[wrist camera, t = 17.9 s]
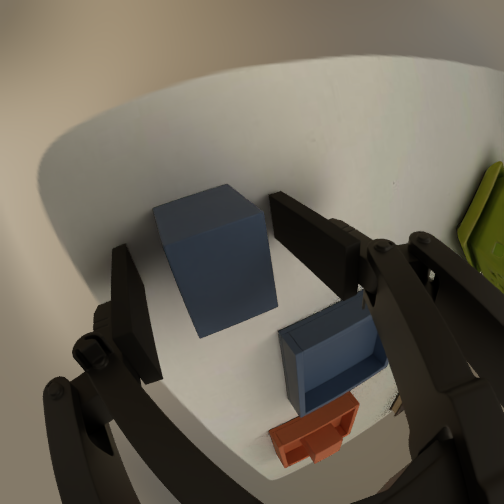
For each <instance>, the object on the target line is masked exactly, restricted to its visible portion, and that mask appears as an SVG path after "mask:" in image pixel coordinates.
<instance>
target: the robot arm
mask: <svg viewBox="0 0 504 504" xmlns="http://www.w3.org/2000/svg"><path fill="white" fill-rule="evenodd" d="M269 201H270V208H271V215H272V222H273V229H274V236H275V238H276V239H277V240H278V241H279V242H280V243H281V244H282V245H283V246H285V247H286V248H287V249H288V250H289V251H290V252H291V253H292V254H293V255H294V256H295V257H297V258H298V259H299V260H300V261H301V262H302V263H303V264H304V265H305V266H306V267H307V268H308V269H310V270H311V271H312V272H313V273H314V274H315V275H316V276H317V277H318V278H319V279H320V280H321V281H322V282H324V283H325V284H326V285H327V286H328V287H329V288H330V289H331V290H332V291H333V292H334V293H335V294H336V295H337V296H338V297H340V298H341V299H342V300H343V301H345V300H347V299H349V298H351V297H353V296H355V295H357V290H358V284H359V285H361V286H362V287H363V288H364V291H363V300H362V310H363V309H365V304H367V306H368V309H369V311H370V314H371V316H372V319H373V321H374V324H375V326H376V329H377V332H378V334H379V337H380V340H381V342H382V345H383V348H384V350H385V353H386V356H387V359H388V362H389V365H390V367H391V370H392V373H393V376H394V379H395V382H396V385H397V388H398V391H399V394H400V398H401V401H402V404H403V407H404V411H405V414H406V417H407V421H408V424H409V429H410V434H409V450H410V455H411V459H412V461H411V462H410V463H409V464H408V465H407V466H405V467H404V468H403V469H402V470H401V471H399V472H398V473H397V474H396V475H394V476H393V477H392V478H390V479H389V481H388V482H387V483H386V484H385V485H384V486H383V487H382V488H381V489H380V490H379V491H378V493H377V494H375V495H373V496H370V497H368V498H365V499H362V500H360V501H357V502H354V503H351V504H504V412H503V410H502V407H501V405H502V406H503V407H504V294H503V293H502V292H501V291H500V290H499V289H498V288H497V287H495V286H494V285H493V284H492V283H491V282H490V281H489V280H488V279H486V278H485V277H484V276H483V275H482V274H481V273H479V272H478V271H477V270H476V269H475V268H474V267H472V266H471V265H470V264H469V263H467V262H466V261H465V260H464V259H463V258H461V257H460V256H459V255H458V254H456V253H455V252H454V251H452V250H451V249H450V248H449V247H447V246H446V245H445V244H443V243H442V242H441V241H439V240H438V239H437V238H435V237H434V236H433V235H431V234H429V233H426V232H423V231H422V232H421V231H418V232H413V233H412V234H410V236H409V242H408V243H407V244H402V245H396V244H395V243H394V242H392V241H390V240H387V239H375V240H372V239H371V238H369V237H367V236H366V235H364V234H363V233H361V232H359V231H358V230H355V228H353V227H351V226H349V225H348V224H347V223H345V222H343V221H341V220H337V219H334V218H332V219H329V220H328V219H326V218H324V217H323V216H321V215H320V214H318V213H316V212H315V211H313V210H312V209H310V208H308V207H307V206H305V205H303V204H302V203H300V202H298V201H297V200H295V199H293V198H292V197H290V196H288V195H287V194H285V193H283V192H282V191H279V192H276V193H273V194H269ZM431 270H432V271H433V272H434V273H435V277H434V280H432V279H431V278H430V277H429V276H430V271H431ZM93 323H94V324H93V330H94V331H93V332H90V333H87V334H85V335H83V336H82V337H81V338H80V339H79V340H77V342H76V343H75V345H74V347H73V350H72V354H73V358H74V359H75V360H76V361H77V362H78V363H79V365H80V366H81V367H82V368H83V369H84V371H85V372H84V373H82V374H81V375H80V376H78V377H77V378H75V379H74V380H72V381H69V380H67V379H66V378H65V377H60V376H59V377H56V378H54V379H52V380H51V381H50V382H49V383H48V384H47V385H46V387H45V389H44V391H43V405H44V415H45V423H46V430H47V437H48V444H49V450H50V455H51V460H52V465H53V470H54V474H55V478H56V482H57V486H58V490H59V493H60V497H61V501H62V504H140V502H139V499H138V497H137V495H136V493H135V491H134V489H133V487H132V484H131V482H130V480H129V477H128V475H127V472H126V470H125V467H124V465H123V462H122V460H121V457H120V454H119V452H118V449H117V446H116V443H115V441H114V438H113V435H112V432H111V429H110V426H109V422H110V421H112V420H113V419H114V420H115V422H116V423H117V425H118V426H119V428H120V429H121V430H122V432H123V433H124V435H125V436H126V438H127V439H128V440H129V442H130V443H131V445H132V446H133V447H134V449H135V450H136V451H137V453H138V454H139V455H140V457H141V458H142V459H143V460H144V462H145V463H146V464H147V465H148V467H149V468H150V469H151V470H152V471H153V473H154V474H155V475H156V476H157V477H158V479H159V480H160V481H161V482H162V483H163V484H164V486H165V487H166V488H167V489H168V490H169V491H170V492H171V493H172V494H173V495H174V496H175V498H176V499H177V500H178V501H179V502H180V503H181V504H264V503H262V502H261V501H260V500H258V499H257V498H256V497H254V496H253V495H251V494H250V493H249V492H248V491H246V490H245V489H244V488H243V487H241V486H240V485H239V484H237V483H236V482H235V481H234V480H233V479H232V478H230V477H229V476H228V475H227V474H226V473H225V472H223V471H222V470H221V469H220V468H219V467H218V466H216V465H215V464H214V463H213V462H212V461H211V460H210V459H209V458H208V457H207V456H206V455H205V454H204V453H202V452H201V451H200V450H199V449H198V448H197V447H196V446H195V445H194V444H193V443H192V442H191V441H190V440H189V439H188V438H187V437H186V436H185V435H184V434H183V433H182V432H181V431H180V430H179V429H178V428H177V427H176V426H175V424H174V423H173V422H172V421H171V420H170V419H169V418H168V417H167V416H166V415H165V414H164V412H163V411H162V410H161V409H160V408H159V407H158V406H157V405H156V403H155V402H154V401H153V400H152V399H151V398H150V396H149V395H148V394H147V393H146V392H145V390H144V389H143V388H142V387H141V381H140V378H141V380H142V381H143V382H144V383H145V384H149V383H152V382H155V381H158V380H161V379H163V376H162V372H161V368H160V364H159V360H158V355H157V351H156V346H155V342H154V337H153V332H152V327H151V322H150V317H149V311H148V306H147V300H146V294H145V288H144V284H143V282H142V280H141V278H140V276H139V273H138V271H137V269H136V266H135V264H134V262H133V260H132V257H131V255H130V253H129V250H128V248H127V245H126V244H123V245H121V246H118V247H116V248H113V249H112V270H111V301H109V302H106V303H103V304H101V305H98V307H97V309H96V311H95V313H94V322H93ZM466 360H467V361H466ZM467 362H468V363H469V364H470V365H471V367H472V368H473V369H474V370H475V372H476V373H477V374H478V376H479V377H480V378H476V377H475V376H474V375H473V373H472V371H471V369H470V367H469V365H468V363H467ZM500 404H501V405H500Z"/></svg>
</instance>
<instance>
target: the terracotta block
mask: <svg viewBox="0 0 504 504" xmlns="http://www.w3.org/2000/svg"><path fill="white" fill-rule="evenodd" d="M342 441H343V439H342V437H341V436H340V435H339V433H338V432H337V431H336V429H335V428H334V426H333V425H332V424H331V423H329V424H328V425H326V426H324V427H322V428H320V429H318V430H317V431H315V432H313V433H311V434H309V435H307V436H305V437H303V438H301V439H300V442H301V443H302V445H303V447H304V448H305V450H306V451H307V453H308V454H309V456H310V457H311V459H312V460H313V462H314V463H317V462H319V461H321V460H323V459H324V458H327V457H328V456H330V455H332V454H334V453H335V452H337V451H339V450H340V447H341V444H342Z"/></svg>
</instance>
